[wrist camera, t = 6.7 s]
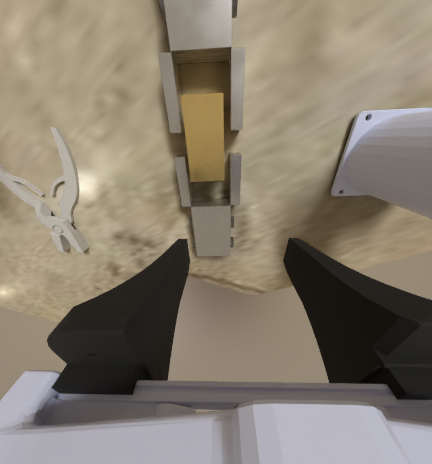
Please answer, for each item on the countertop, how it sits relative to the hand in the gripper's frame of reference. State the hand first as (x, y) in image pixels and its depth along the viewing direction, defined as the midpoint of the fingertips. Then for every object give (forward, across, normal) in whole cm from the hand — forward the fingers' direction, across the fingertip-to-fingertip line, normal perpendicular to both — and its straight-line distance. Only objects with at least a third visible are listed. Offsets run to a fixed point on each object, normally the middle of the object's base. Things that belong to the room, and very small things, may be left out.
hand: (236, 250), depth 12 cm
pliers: (+10, +22, -1) cm, 25 cm away
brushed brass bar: (+10, +2, -7) cm, 12 cm away
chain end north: (+10, +2, 0) cm, 10 cm away
